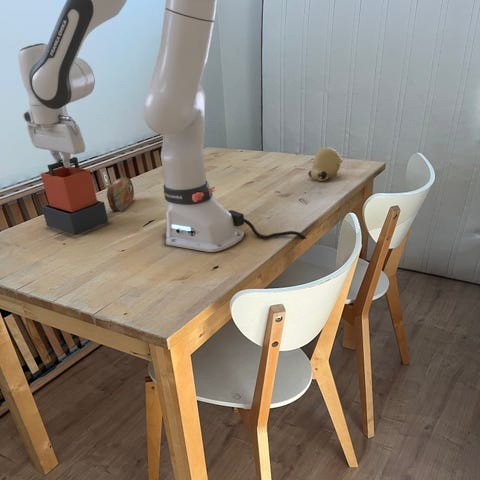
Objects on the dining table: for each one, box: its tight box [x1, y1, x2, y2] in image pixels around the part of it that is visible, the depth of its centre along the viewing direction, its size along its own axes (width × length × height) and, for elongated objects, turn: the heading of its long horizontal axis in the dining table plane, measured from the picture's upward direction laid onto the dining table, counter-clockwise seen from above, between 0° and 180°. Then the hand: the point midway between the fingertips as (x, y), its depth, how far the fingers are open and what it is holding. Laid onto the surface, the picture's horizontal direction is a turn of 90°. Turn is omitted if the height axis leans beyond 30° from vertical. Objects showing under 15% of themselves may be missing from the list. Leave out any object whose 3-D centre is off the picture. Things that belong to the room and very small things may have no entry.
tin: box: [106, 176, 135, 212], centre depth 156 cm, size 15×3×8 cm, turn 168°
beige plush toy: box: [307, 146, 343, 182], centre depth 169 cm, size 10×12×11 cm
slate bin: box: [41, 199, 109, 236], centre depth 144 cm, size 14×12×7 cm
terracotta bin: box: [40, 156, 98, 212], centre depth 139 cm, size 11×9×12 cm
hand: (63, 166), depth 136 cm, fingers closed on terracotta bin
